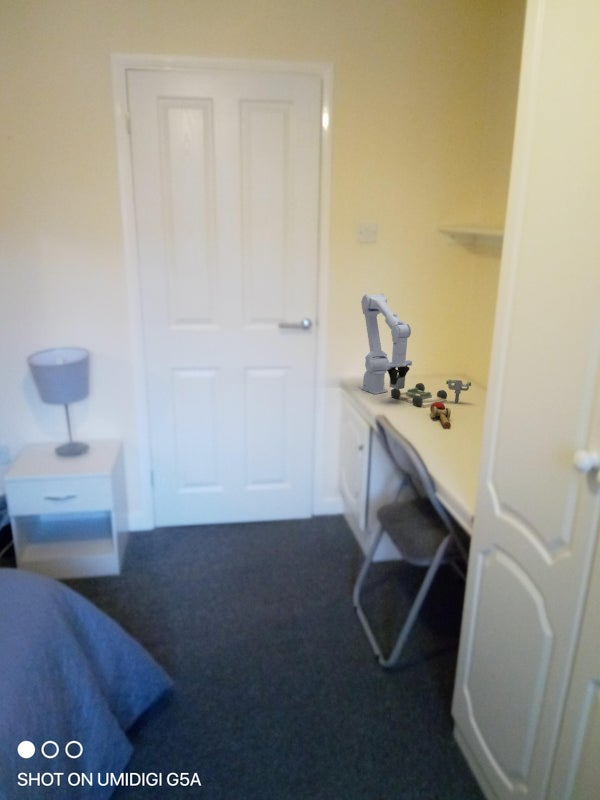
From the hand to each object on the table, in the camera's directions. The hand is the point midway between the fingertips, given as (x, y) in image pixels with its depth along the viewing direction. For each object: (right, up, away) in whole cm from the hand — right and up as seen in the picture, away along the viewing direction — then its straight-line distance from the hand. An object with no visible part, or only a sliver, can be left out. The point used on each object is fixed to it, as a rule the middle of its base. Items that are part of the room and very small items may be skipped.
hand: (396, 383), depth 255 cm
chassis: (+11, -7, +8) cm, 15 cm away
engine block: (0, -2, 0) cm, 2 cm away
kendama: (+15, -16, -19) cm, 29 cm away
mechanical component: (+27, -9, +3) cm, 28 cm away
